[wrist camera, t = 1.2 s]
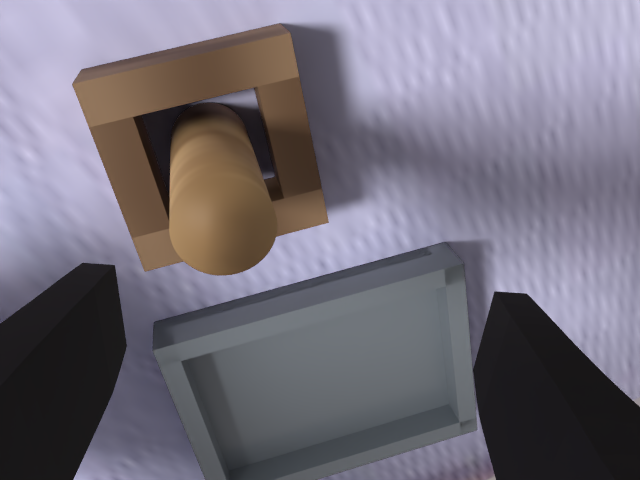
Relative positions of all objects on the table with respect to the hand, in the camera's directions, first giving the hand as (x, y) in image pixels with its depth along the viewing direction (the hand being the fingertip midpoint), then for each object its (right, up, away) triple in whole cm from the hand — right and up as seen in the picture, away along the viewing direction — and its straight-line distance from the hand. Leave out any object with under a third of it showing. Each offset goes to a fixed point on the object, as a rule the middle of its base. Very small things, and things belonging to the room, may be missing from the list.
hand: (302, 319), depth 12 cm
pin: (-3, +5, +9) cm, 11 cm away
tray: (+1, -4, +15) cm, 15 cm away
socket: (-3, +5, +9) cm, 11 cm away
